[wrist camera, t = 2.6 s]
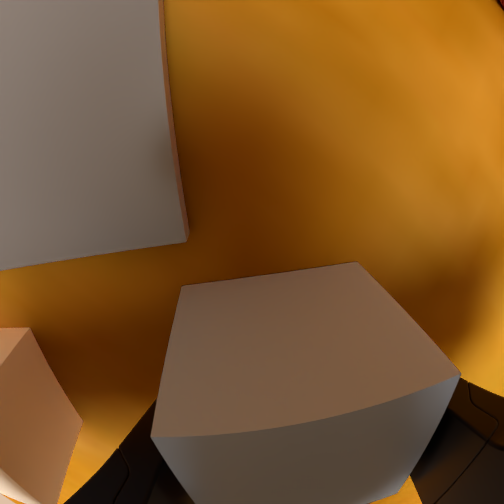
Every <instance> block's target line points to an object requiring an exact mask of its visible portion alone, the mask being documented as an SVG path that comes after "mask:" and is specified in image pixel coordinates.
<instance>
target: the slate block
mask: <svg viewBox="0 0 504 504" xmlns="http://www.w3.org/2000/svg"><path fill="white" fill-rule="evenodd" d="M460 376H461V372H460V371H459V370H458V369H457V368H456V367H455V365H454V364H453V363H452V362H451V361H450V360H449V358H448V357H447V356H446V355H445V354H444V353H443V352H442V350H441V349H440V348H439V347H438V346H437V345H436V344H435V343H434V341H433V340H432V339H431V338H430V337H429V336H428V335H427V334H426V333H425V331H424V330H423V329H422V328H421V327H420V326H419V325H418V324H417V323H416V322H415V321H414V320H413V318H412V317H411V316H410V315H409V314H408V313H407V312H406V311H405V310H404V309H403V308H402V307H401V306H400V305H399V304H398V303H397V301H396V300H395V299H394V298H393V297H392V296H391V295H390V294H389V293H388V292H387V291H386V290H385V289H384V288H383V287H382V286H381V285H380V284H379V283H378V282H377V281H376V280H375V279H374V278H373V277H372V276H371V275H370V274H369V273H368V272H367V271H366V270H365V269H364V268H363V267H362V266H361V265H360V264H359V263H358V262H350V263H344V264H337V265H331V266H324V267H317V268H310V269H304V270H297V271H290V272H283V273H276V274H268V275H261V276H254V277H246V278H239V279H231V280H224V281H216V282H208V283H200V284H192V285H184V286H182V287H181V291H180V295H179V300H178V304H177V308H176V312H175V317H174V321H173V325H172V330H171V334H170V339H169V343H168V348H167V353H166V357H165V362H164V367H163V372H162V377H161V382H160V387H159V392H158V397H157V403H156V408H155V414H154V419H153V425H152V431H151V439H152V440H153V442H154V444H155V445H156V447H157V449H158V450H159V452H160V453H161V455H162V456H163V458H164V460H165V461H166V463H167V464H168V466H169V467H170V469H171V470H172V472H173V473H174V475H175V476H176V478H177V479H178V481H179V482H180V483H181V485H182V486H183V488H184V489H185V490H186V492H187V493H188V495H189V496H190V497H191V499H192V500H193V501H194V503H195V504H368V503H371V502H374V501H377V500H380V499H383V498H385V497H388V496H391V495H394V494H396V493H398V491H399V490H400V488H401V487H402V485H403V484H404V482H405V481H406V479H407V478H408V476H409V475H410V473H411V472H412V470H413V468H414V467H415V465H416V464H417V462H418V460H419V459H420V457H421V455H422V454H423V452H424V450H425V448H426V447H427V445H428V443H429V441H430V439H431V438H432V436H433V434H434V432H435V430H436V428H437V426H438V424H439V422H440V420H441V418H442V416H443V414H444V412H445V410H446V408H447V406H448V404H449V401H450V399H451V397H452V395H453V392H454V390H455V388H456V385H457V383H458V381H459V378H460Z"/></svg>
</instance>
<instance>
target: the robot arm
mask: <svg viewBox="0 0 504 504" xmlns="http://www.w3.org/2000/svg"><path fill="white" fill-rule="evenodd" d="M156 403H157V399H156V400H155V401H154V403H153V404H152V405H151V406H150V408H149V409H148V410H147V412H146V413H145V414H144V415H143V417H142V418H141V419H140V420H139V422H138V423H137V424H136V425H135V427H134V428H133V429H132V430H131V432H130V433H129V434H128V435H127V437H126V438H125V439H124V440H123V442H122V443H121V444H120V445H119V449H118V448H117V449H116V450H115V451H114V453H113V454H112V455H111V456H110V458H109V459H108V460H107V461H106V462H105V463H104V465H103V466H102V467H101V468H100V469H99V470H98V471H97V472H96V473H95V474H94V475H93V476H92V477H91V478H90V479H89V480H88V481H87V482H86V483H85V484H84V485H83V486H82V487H81V488H80V489H79V490H78V491H77V492H76V493H75V494H74V495H72V496H71V497H70V498H69V499H68V500H67V501H66V502H65V503H64V504H195V503H194V501H193V500H192V499H191V497H190V496H189V495H188V493H187V492H186V490H185V489H184V488H183V486H182V485H181V483H180V482H179V481H178V479H177V478H176V476H175V475H174V473H173V472H172V470H171V469H170V467H169V466H168V464H167V463H166V461H165V460H164V458H163V456H162V455H161V453H160V452H159V450H158V449H157V447H156V445H155V444H154V442H153V440H152V439H151V431H152V425H153V419H154V414H155V408H156ZM410 476H411V479H412V481H413V483H414V485H415V488H416V490H417V492H418V495H419V497H420V499H421V502H422V504H504V397H502V396H499V395H497V394H494V393H492V392H490V391H487V390H485V389H483V388H481V387H479V386H477V385H474V384H472V383H470V382H468V381H466V380H464V379H462V378H459V381H458V383H457V385H456V388H455V390H454V392H453V395H452V397H451V399H450V401H449V404H448V406H447V408H446V410H445V412H444V414H443V416H442V418H441V420H440V422H439V424H438V426H437V428H436V430H435V432H434V434H433V436H432V438H431V439H430V441H429V443H428V445H427V447H426V448H425V450H424V452H423V454H422V455H421V457H420V459H419V460H418V462H417V464H416V465H415V467H414V468H413V470H412V472H411V473H410ZM368 504H369V503H368Z"/></svg>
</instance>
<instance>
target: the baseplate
mask: <svg viewBox="0 0 504 504" xmlns="http://www.w3.org/2000/svg"><path fill="white" fill-rule="evenodd" d="M189 233H190V230H189V225H188V219H187V213H186V206H185V200H184V194H183V187H182V180H181V174H180V167H179V159H178V152H177V145H176V137H175V129H174V121H173V112H172V103H171V94H170V84H169V73H168V62H167V50H166V37H165V22H164V4H163V0H0V271H1V270H7V269H13V268H19V267H25V266H31V265H37V264H43V263H49V262H56V261H62V260H68V259H75V258H81V257H88V256H94V255H101V254H107V253H114V252H121V251H127V250H134V249H141V248H148V247H155V246H162V245H169V244H176V243H183V242H187V239H188V236H189Z"/></svg>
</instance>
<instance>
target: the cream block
mask: <svg viewBox="0 0 504 504" xmlns="http://www.w3.org/2000/svg"><path fill="white" fill-rule="evenodd" d="M82 424H83V420H82V419H81V417H80V416H79V414H78V413H77V411H76V410H75V408H74V407H73V405H72V404H71V402H70V401H69V399H68V397H67V396H66V394H65V392H64V391H63V389H62V387H61V386H60V384H59V382H58V381H57V379H56V377H55V375H54V374H53V372H52V370H51V368H50V366H49V365H48V363H47V361H46V359H45V357H44V355H43V353H42V351H41V349H40V347H39V345H38V343H37V341H36V339H35V337H34V335H33V333H32V331H31V328H30V327H29V328H0V493H1V494H3V495H6V496H8V497H10V498H13V499H15V500H18V501H20V502H23V503H25V504H57V502H58V499H59V495H60V492H61V488H62V485H63V481H64V478H65V475H66V471H67V468H68V465H69V462H70V459H71V456H72V453H73V450H74V447H75V444H76V441H77V438H78V435H79V432H80V429H81V427H82Z"/></svg>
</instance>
